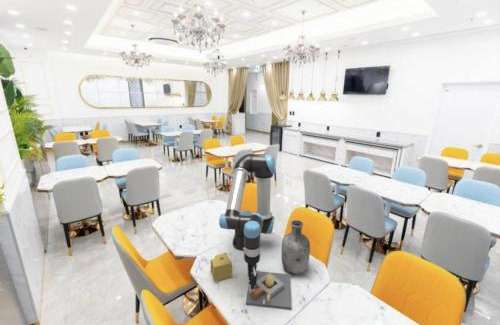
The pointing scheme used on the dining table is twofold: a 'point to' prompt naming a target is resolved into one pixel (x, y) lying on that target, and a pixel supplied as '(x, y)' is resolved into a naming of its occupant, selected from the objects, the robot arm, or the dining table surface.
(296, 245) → the vase
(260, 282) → the handled square frame
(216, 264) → the cheese
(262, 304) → the jig
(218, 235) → the dining table surface
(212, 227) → the dining table surface
